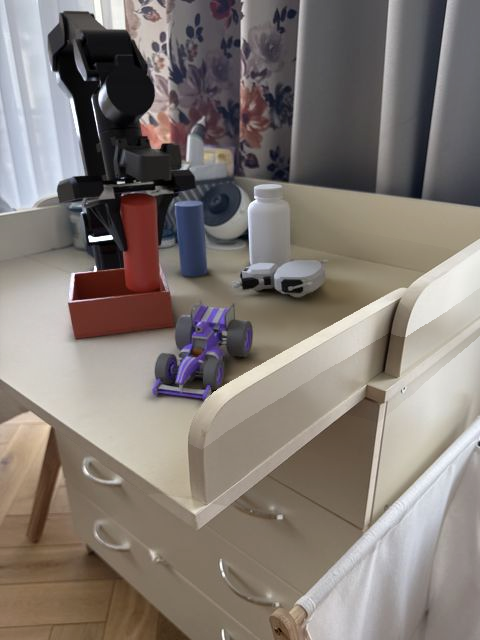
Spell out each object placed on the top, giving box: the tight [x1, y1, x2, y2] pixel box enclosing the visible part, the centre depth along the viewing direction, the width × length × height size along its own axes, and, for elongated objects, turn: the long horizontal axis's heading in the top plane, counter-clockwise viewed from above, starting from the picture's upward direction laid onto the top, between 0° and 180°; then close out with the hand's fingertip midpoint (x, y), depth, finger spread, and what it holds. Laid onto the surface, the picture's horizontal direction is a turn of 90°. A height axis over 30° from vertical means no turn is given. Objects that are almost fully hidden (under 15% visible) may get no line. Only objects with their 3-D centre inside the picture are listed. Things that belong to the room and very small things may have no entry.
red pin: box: [120, 192, 160, 292], centre depth 77 cm, size 5×5×13 cm
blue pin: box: [174, 200, 208, 278], centre depth 100 cm, size 5×5×13 cm
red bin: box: [67, 264, 174, 340], centre depth 84 cm, size 13×14×6 cm
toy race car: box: [152, 300, 254, 403], centre depth 68 cm, size 10×15×6 cm, turn 165°
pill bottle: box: [247, 183, 291, 267], centre depth 103 cm, size 8×8×15 cm
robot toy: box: [231, 259, 329, 299], centre depth 93 cm, size 12×4×15 cm
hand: (141, 248), depth 77 cm, fingers closed on red pin, 5 cm apart
